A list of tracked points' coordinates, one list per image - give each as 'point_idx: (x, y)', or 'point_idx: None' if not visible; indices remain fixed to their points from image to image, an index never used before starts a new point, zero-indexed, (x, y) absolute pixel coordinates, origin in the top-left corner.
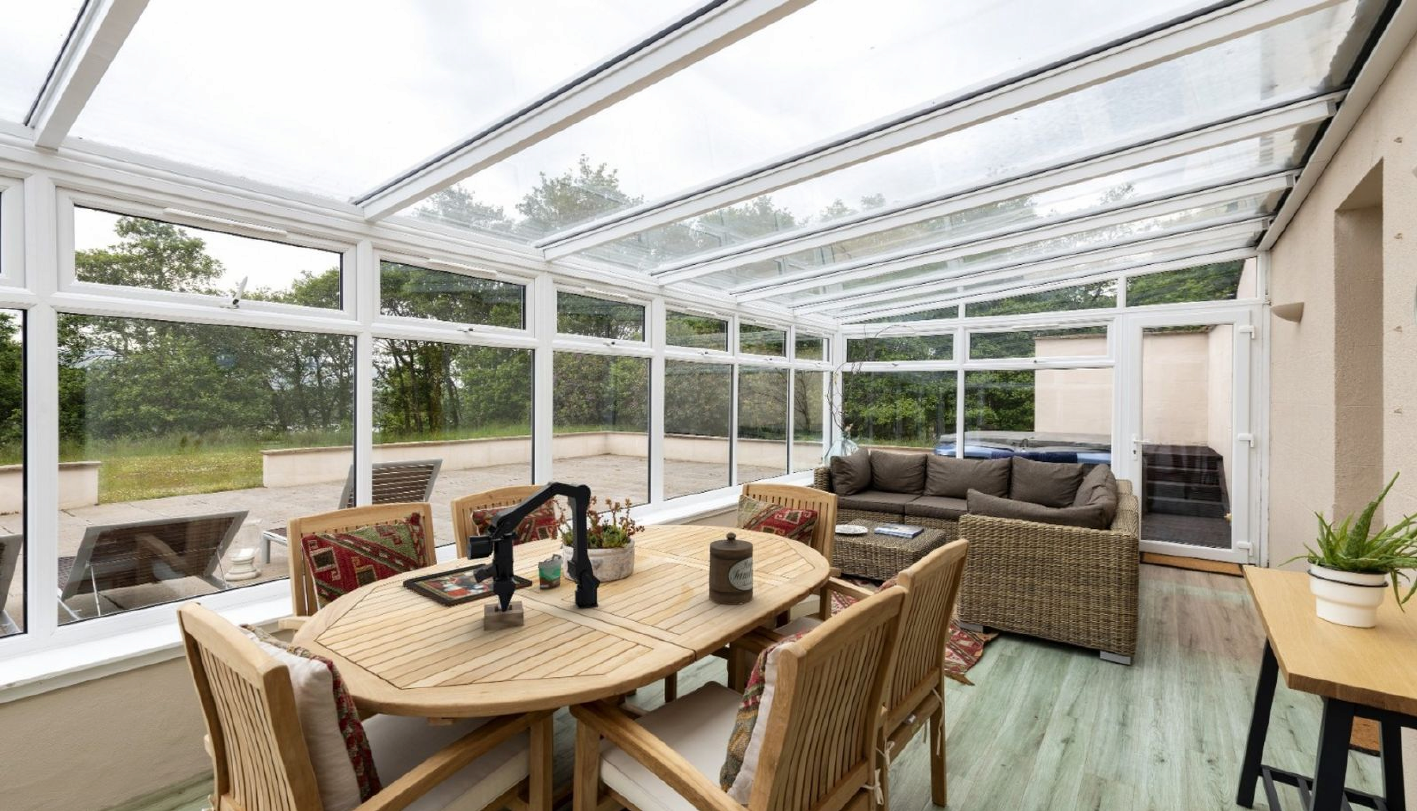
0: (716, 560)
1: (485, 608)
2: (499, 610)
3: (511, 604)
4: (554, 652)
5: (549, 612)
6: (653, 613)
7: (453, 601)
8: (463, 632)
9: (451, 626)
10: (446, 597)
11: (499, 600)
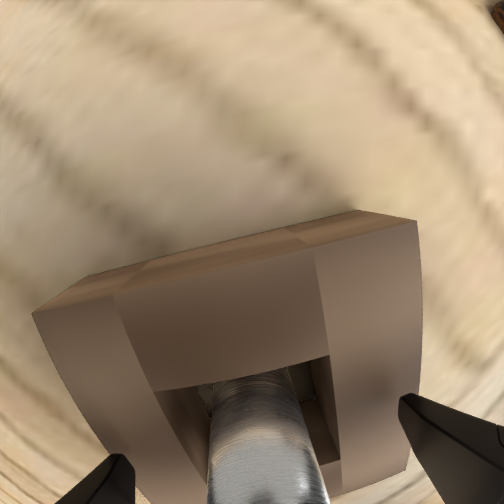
0: None
1: (281, 270)
2: (219, 412)
3: (348, 455)
4: (2, 483)
5: (344, 498)
6: None
7: None
8: (60, 141)
9: (190, 20)
10: None
11: (216, 491)
